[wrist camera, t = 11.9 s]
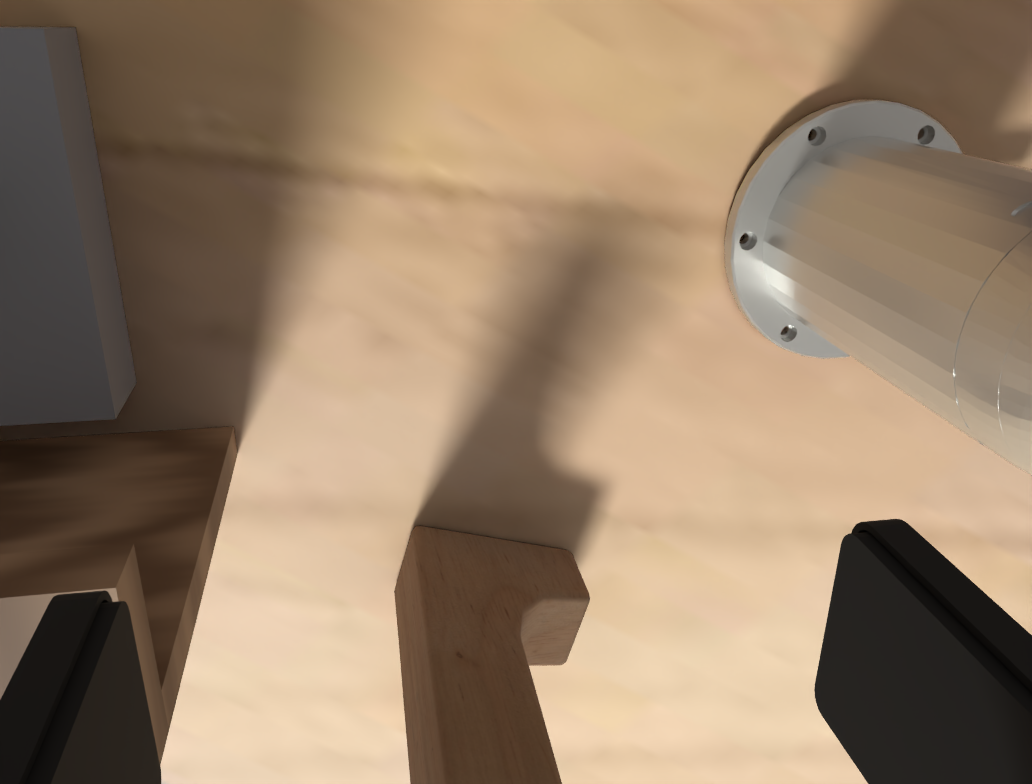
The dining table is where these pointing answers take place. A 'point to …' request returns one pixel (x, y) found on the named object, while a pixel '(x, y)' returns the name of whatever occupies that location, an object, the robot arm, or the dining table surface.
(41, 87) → the socket block
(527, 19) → the dining table surface
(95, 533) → the brown notched wall
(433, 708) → the wooden block
